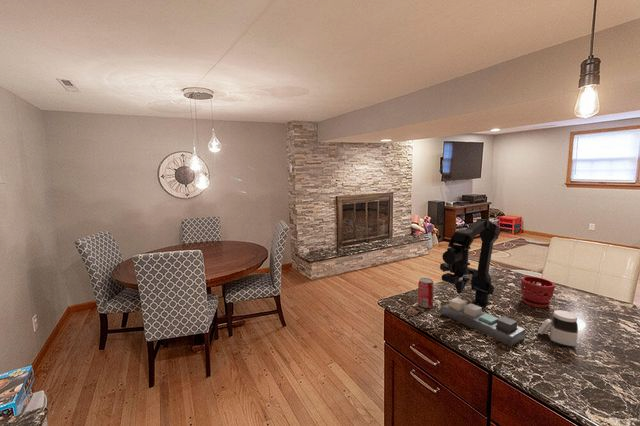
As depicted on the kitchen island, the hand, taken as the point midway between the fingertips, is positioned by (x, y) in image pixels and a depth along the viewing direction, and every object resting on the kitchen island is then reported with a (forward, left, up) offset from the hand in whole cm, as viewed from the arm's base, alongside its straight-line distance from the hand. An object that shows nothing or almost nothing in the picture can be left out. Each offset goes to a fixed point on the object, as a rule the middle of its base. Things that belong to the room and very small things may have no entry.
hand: (459, 293), depth 133 cm
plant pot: (-43, +13, -11) cm, 46 cm away
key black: (0, +21, -8) cm, 22 cm away
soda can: (+4, -15, -11) cm, 19 cm away
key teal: (0, +14, -10) cm, 17 cm away
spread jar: (-14, +32, -11) cm, 37 cm away
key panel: (0, +10, -11) cm, 15 cm away
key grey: (0, +7, -8) cm, 10 cm away
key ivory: (0, 0, -8) cm, 8 cm away
